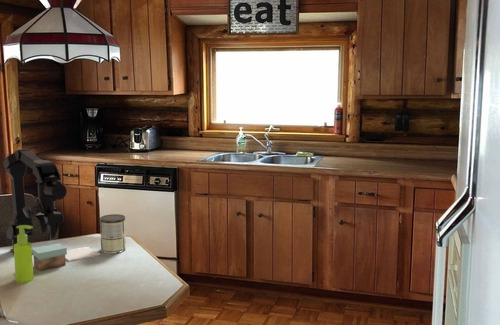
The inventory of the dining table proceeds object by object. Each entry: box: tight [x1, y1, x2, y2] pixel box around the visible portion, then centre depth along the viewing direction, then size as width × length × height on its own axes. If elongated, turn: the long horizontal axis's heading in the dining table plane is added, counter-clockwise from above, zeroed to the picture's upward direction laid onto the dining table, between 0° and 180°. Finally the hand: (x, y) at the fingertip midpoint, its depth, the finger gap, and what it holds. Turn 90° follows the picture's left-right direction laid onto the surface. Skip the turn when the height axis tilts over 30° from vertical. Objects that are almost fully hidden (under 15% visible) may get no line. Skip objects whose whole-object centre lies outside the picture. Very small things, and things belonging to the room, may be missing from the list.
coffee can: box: [99, 213, 127, 254], centre depth 232 cm, size 10×10×14 cm
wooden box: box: [32, 255, 67, 272], centre depth 213 cm, size 10×6×5 cm, turn 130°
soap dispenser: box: [13, 225, 34, 284], centre depth 197 cm, size 6×7×20 cm
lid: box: [32, 243, 68, 260], centre depth 212 cm, size 11×7×3 cm, turn 130°
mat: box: [65, 246, 101, 263], centre depth 227 cm, size 12×13×1 cm
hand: (48, 235), depth 211 cm, fingers open, 9 cm apart
